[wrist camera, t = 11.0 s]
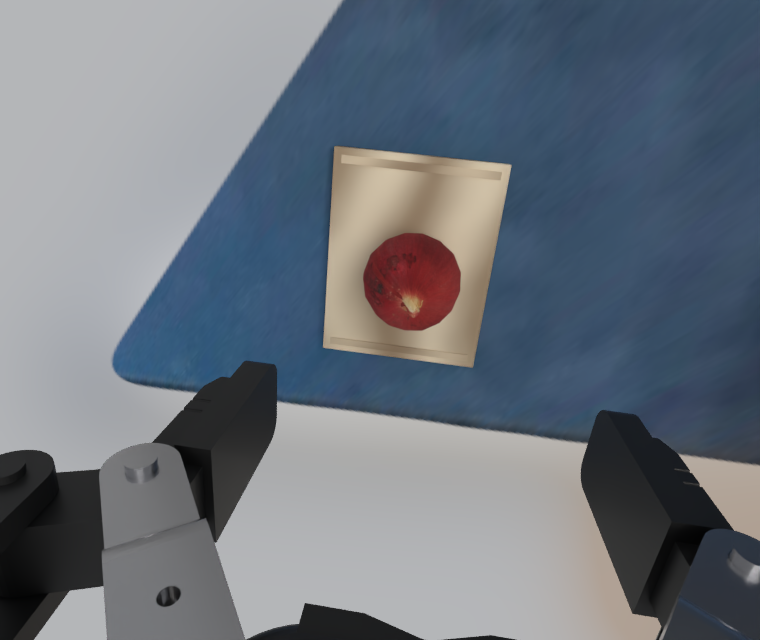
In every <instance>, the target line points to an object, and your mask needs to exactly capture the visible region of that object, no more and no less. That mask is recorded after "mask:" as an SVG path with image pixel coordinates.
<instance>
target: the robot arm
mask: <svg viewBox="0 0 760 640" xmlns="http://www.w3.org/2000/svg"><path fill="white" fill-rule="evenodd" d="M276 416H277V369H276V366H275V365H274V364H267V363H260V362H252V361H244V362H243V363H242V365H241V366H240V367H239V368H238V369H237V371H236V372H235V373H234V374H233V375H232V376H231V378H227V377H220V378H218V379H216V380H214V381H213V382H211V383H209V384H207V385H205V386H204V387H203V388H202V389H201V390H200V391H199V392H198V393H197V394H196V395H195V397H194V398H193V400H191V401H190V402H189V403H188V404H187V405H186V406H185V407H184V411H183V410H182V411H181V412H180V413H179V414H178V415H177V416H176V417H175V418H174V420H173V421H172V422H171V423H170V424H169V425H168V426H167V427H166V428H165V429H164V430H163V431H162V433H161V434H160V435H159V436H158V437H157V438H156V439H155V440H154V441H153V442H152V443H145V444H139V445H135V446H131V447H128V448H126V449H123V450H121V451H119V452H117V453H116V454H114V455H113V456H111V457H110V458H109V459H108V460H107V461H106V462H105V463H104V464H103V466H102V467H101V469H98V470H86V471H73V472H60V473H56V469H55V465H54V461H53V458H52V457H51V456H50V455H49V454H47V453H44V452H42V451H37V450H20V451H14V452H9V453H5V454H1V455H0V640H34V639H35V637H36V636H37V634H38V633H39V632H40V630H41V629H42V628H43V626H44V625H45V624H46V622H47V621H48V619H49V618H50V617H51V615H52V614H53V613H54V611H55V610H56V609H57V607H58V605H59V604H60V603H61V602H62V600H63V599H64V598H65V596H66V595H67V593H68V592H69V591H70V590H77V589H85V588H92V587H100V586H104V598H105V613H106V628H107V640H245V637H244V634H243V631H242V628H241V624H240V622H239V618H238V616H237V612H236V609H235V606H234V603H233V599H232V597H231V593H230V590H229V587H228V584H227V581H226V578H225V575H224V571H223V568H222V565H221V562H220V559H219V556H218V553H217V550H216V546H215V543H214V542H217V540H218V538H219V536H220V535H221V533H222V531H223V529H224V527H225V525H226V524H227V522H228V520H229V518H230V516H231V514H232V513H233V511H234V509H235V507H236V505H237V503H238V501H239V500H240V498H241V496H242V493H243V492H244V490H245V489H246V487H247V484H248V482H249V481H250V479H251V477H252V476H253V474H254V472H255V470H256V468H257V466H258V464H259V463H260V461H261V459H262V457H263V455H264V453H265V452H266V450H267V448H268V446H269V444H270V442H271V440H272V438H273V435H274V431H275V426H276V418H277V417H276ZM689 471H690V470H689V469H688V467H687V466H686V464H685V463H684V462H683V460H682V459H681V458H680V456H679V455H678V454H677V453H676V452H675V451H673V450H672V449H671V448H670V447H668V446H667V445H666V444H665V443H663V442H662V441H661V440H659V439H658V438H652V436H651V435H650V433H649V432H648V430H647V429H646V428H645V426H644V425H643V423H642V422H641V420H640V419H639V418H638V416H636V415H634V414H628V413H620V412H613V411H606V410H602V411H600V412H599V413H598V415H597V417H596V420H595V423H594V426H593V429H592V432H591V436H590V439H589V442H588V445H587V449H586V452H585V455H584V458H583V462H582V467H581V483H582V488H583V490H584V493H585V495H586V498H587V500H588V503H589V506H590V508H591V510H592V513H593V516H594V518H595V521H596V523H597V526H598V528H599V531H600V533H601V536H602V538H603V541H604V543H605V546H606V548H607V550H608V553H609V556H610V558H611V561H612V563H613V566H614V568H615V571H616V573H617V576H618V578H619V581H620V583H621V586H622V588H623V590H624V593H625V596H626V598H627V601H628V603H629V606H630V608H631V611H632V613H633V614H638V615H644V616H650V617H656V618H658V620H659V622H660V624H661V629H660V631H659V633H658V635H657V638H656V640H760V541H758V540H757V539H754V538H752V537H750V536H748V535H745V534H743V533H740V532H737V531H734V530H733V528H732V527H731V526H730V524H729V523H728V522H727V521H726V519H725V518H724V516H723V515H722V514H721V512H720V511H719V509H718V508H717V507H716V505H715V504H714V503H713V501H712V500H711V499H710V497H709V496H708V494H707V493H706V492H705V490H704V489H703V488H702V487H700V486H699V482H698V481H697V480H696V478H695V477H694V475H693V474H692V473H690V472H689ZM247 640H424V639H420V638H418V637H416V636H414V635H412V634H409V633H407V632H405V631H403V630H400V629H398V628H396V627H393V626H391V625H389V624H387V623H385V622H383V621H380V620H378V619H376V618H374V617H371V616H369V615H367V614H365V613H359V612H353V611H347V610H342V609H336V608H330V607H325V606H318V605H313V604H307V603H305V605H304V609H303V612H302V616H301V619H300V623H299V624H295V625H287V626H282V627H278V628H273V629H271V630H268V631H265V632H262V633H259V634H257V635H255V636H253V637H251V638H249V639H247ZM447 640H515V639H509V638H503V637H497V636H491V635H490V636H479V637H468V638H457V639H447Z"/></svg>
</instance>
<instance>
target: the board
mask: <svg viewBox="0 0 760 640" xmlns="http://www.w3.org/2000/svg"><path fill="white" fill-rule="evenodd" d="M511 166H512V165H510V164H504V163H495V162H485V161H476V160H467V159H457V158H448V157H439V156H429V155H420V154H411V153H401V152H392V151H383V150H373V149H364V148H355V147H345V146H334V163H333V181H332V198H331V216H330V234H329V251H328V269H327V287H326V304H325V322H324V340H323V348H329V349H336V350H344V351H352V352H359V353H367V354H374V355H382V356H389V357H397V358H404V359H412V360H420V361H427V362H435V363H442V364H450V365H457V366H465V367H472V368H473V364H474V358H475V353H476V348H477V343H478V338H479V332H480V327H481V322H482V317H483V311H484V306H485V301H486V296H487V291H488V285H489V280H490V275H491V270H492V265H493V259H494V254H495V249H496V244H497V239H498V233H499V228H500V223H501V218H502V212H503V207H504V202H505V197H506V192H507V186H508V181H509V176H510V171H511ZM403 233H423V234H425V235H428V236H430V237H432V238H434V239H437V240H439V241H441V242H442V243H443V244H444V245H445V246H446V247H447V248H448V249H449V250H450V251H451V252H452V253H453V254H454V256H455V258H456V261H457V264H458V266H459V269H460V271H461V283H460V293H459V295H458V298H457V300H456V302H455V305H454V307H453V309H452V311H451V312H450V313H449V314H448V315H447V316H446V317H445V318H444V319H443V320H442V321H441V322H440V323H438V324H436V325H434V326H432V327H429V328H427V329H425V330H423V331H406V330H402V329H399V328H395V327H392V326H389V325H388V324H387V323H385V322H384V321H383V320H382V319H380V318H379V317H378V316H377V315H376V314H375V312H374V311H373V309H372V307H371V306H370V304H369V302H368V301H367V299H366V297H365V291H364V282H363V273H364V270H365V268H366V265H367V262H368V260H369V257H370V254H371V253H372V252H374V251H375V250H376V249H377V248H378V247H379V246H380V245H381V244H382V243H383V242H384V241H385V240H387V239H389V238H392V237H395V236H398V235H401V234H403Z"/></svg>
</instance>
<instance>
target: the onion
mask: <svg viewBox="0 0 760 640" xmlns="http://www.w3.org/2000/svg"><path fill="white" fill-rule="evenodd" d="M363 282H364V291H365V297H366V299H367V301H368V302H369V304H370V306H371V307H372V309H373V311H374V312H375V314H376V315H377V316H378V317H379V318H380V319H382V320H383V321H384V322H385V323H387V324H388V325H389V326H392V327H395V328H399V329H402V330H406V331H423V330H425V329H427V328H429V327H432V326H434V325H436V324H438V323H440V322H441V321H442V320H443V319H444V318H445V317H446V316H447V315H448V314H449V313H450V312H451V311H452V309H453V307H454V305H455V302H456V300H457V298H458V295H459V293H460V283H461V271H460V269H459V266H458V264H457V261H456V258H455V256H454V254H453V253H452V252H451V251H450V250H449V249H448V248H447V247H446V246H445V245H444V244H443V243H442V242H441V241H439V240H437V239H434V238H432V237H430V236H428V235H425V234H423V233H403V234H401V235H398V236H395V237H392V238H389V239H387V240H385V241H384V242H383V243H382V244H381V245H380V246H379V247H378V248H377V249H376V250H375V251H374V252H372V253H371V254H370V257H369V260H368V262H367V265H366V268H365V270H364V273H363Z"/></svg>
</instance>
